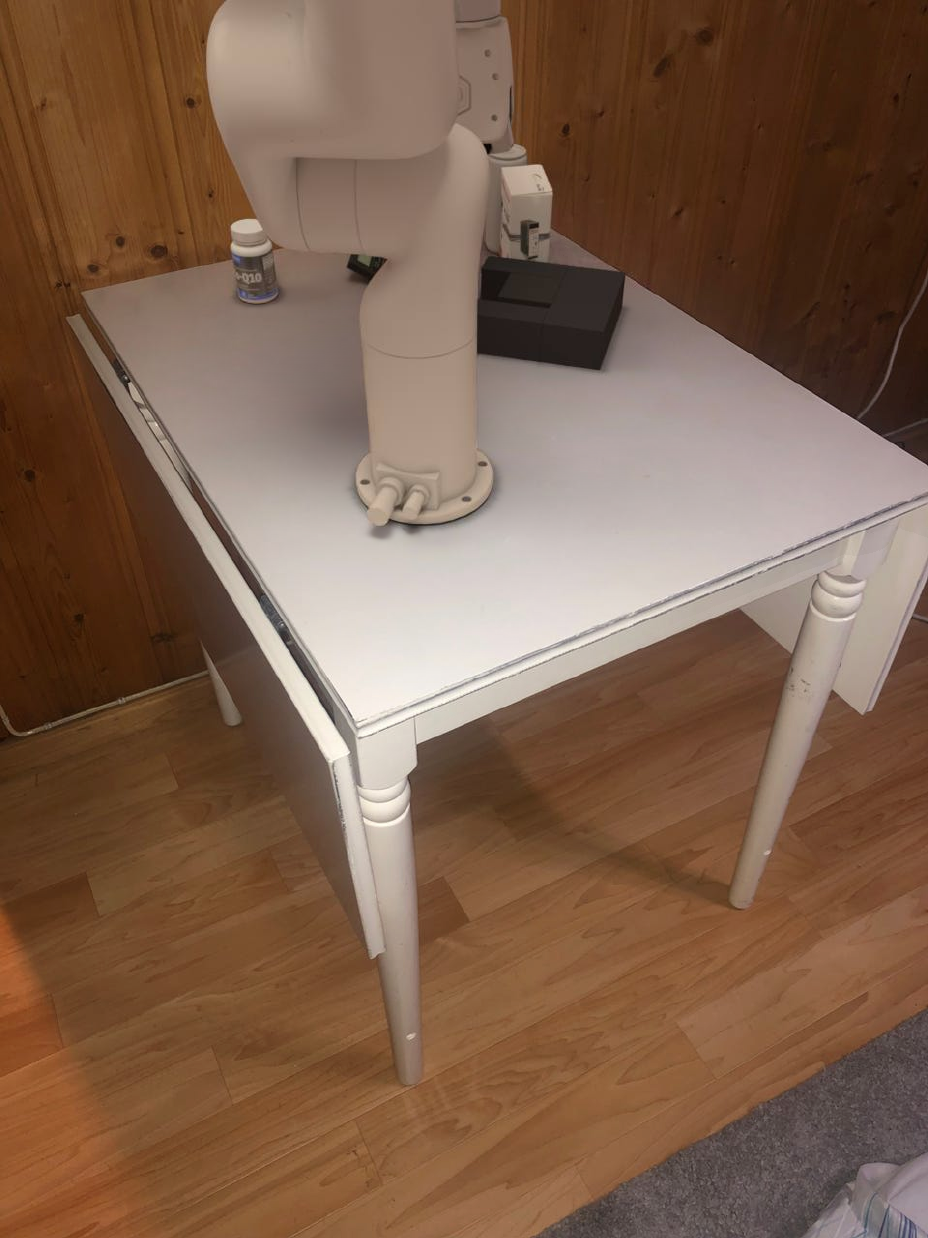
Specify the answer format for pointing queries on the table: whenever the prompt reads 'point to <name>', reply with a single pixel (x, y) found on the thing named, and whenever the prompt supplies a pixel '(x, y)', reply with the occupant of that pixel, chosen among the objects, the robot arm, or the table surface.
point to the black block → (529, 290)
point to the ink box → (525, 213)
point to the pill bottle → (253, 262)
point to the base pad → (550, 314)
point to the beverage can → (499, 192)
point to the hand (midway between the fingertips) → (460, 206)
